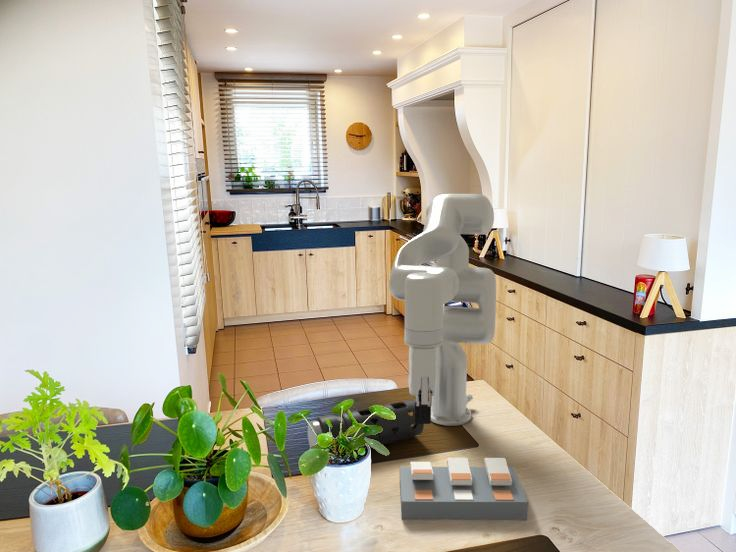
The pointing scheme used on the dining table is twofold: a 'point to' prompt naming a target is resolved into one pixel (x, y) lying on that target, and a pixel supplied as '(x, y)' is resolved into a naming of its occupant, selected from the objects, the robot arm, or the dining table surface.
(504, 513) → the console
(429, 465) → the switch
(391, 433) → the muzzle brake
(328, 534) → the dining table surface
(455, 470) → the switch
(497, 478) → the switch
